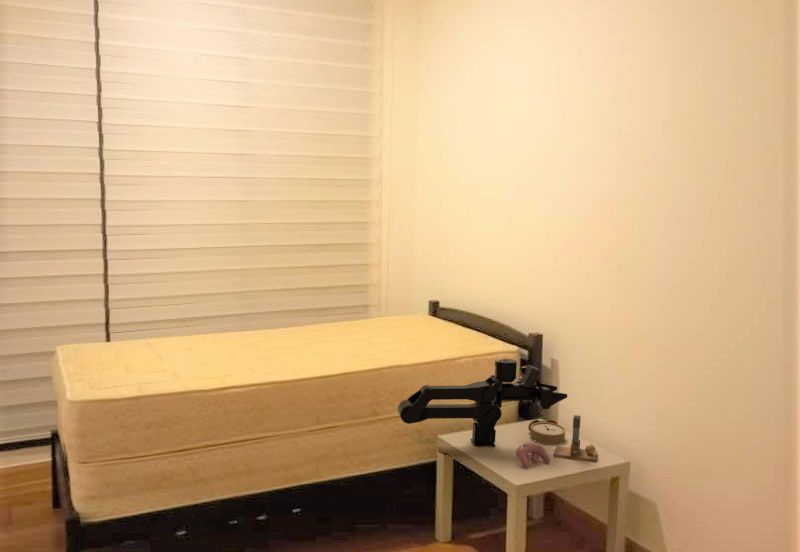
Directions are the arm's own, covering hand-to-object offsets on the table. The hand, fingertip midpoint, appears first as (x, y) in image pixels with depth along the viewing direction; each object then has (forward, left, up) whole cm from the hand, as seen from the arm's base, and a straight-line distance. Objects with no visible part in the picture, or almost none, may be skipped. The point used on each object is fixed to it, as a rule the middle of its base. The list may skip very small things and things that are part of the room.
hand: (561, 391), depth 239 cm
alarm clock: (-2, +6, -17) cm, 18 cm away
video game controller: (-15, -18, -17) cm, 29 cm away
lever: (+1, -12, -15) cm, 19 cm away
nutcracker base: (+1, -12, -17) cm, 20 cm away
